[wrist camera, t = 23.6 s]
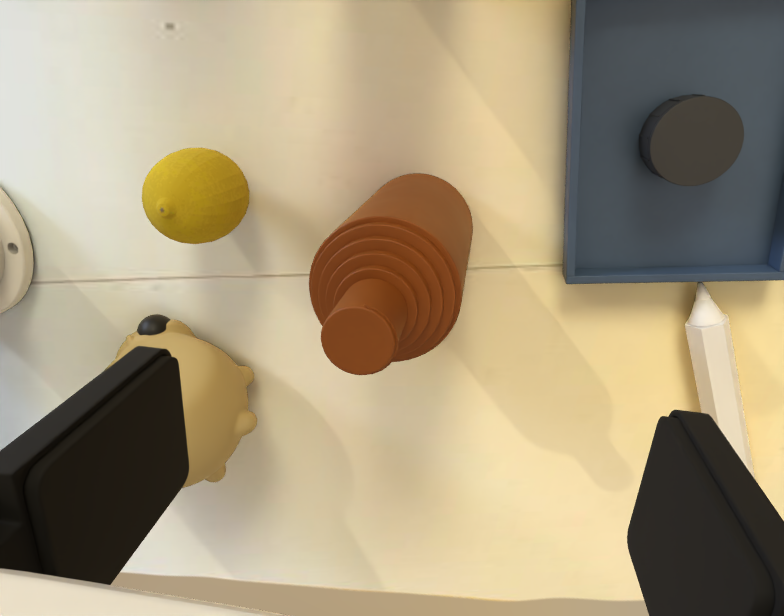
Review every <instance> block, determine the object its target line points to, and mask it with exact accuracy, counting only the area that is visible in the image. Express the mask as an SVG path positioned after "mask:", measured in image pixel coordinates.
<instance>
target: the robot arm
mask: <svg viewBox="0 0 784 616" xmlns="http://www.w3.org/2000/svg"><path fill="white" fill-rule="evenodd" d="M33 267H34V262H33V249H32V245H31V241H30V237H29V233H28V231H27V229H26V226H25V224H24V221H23V219H22V217H21V215H20V214H19V212H18V210H17V209H16V207H15V205H14V203H13V202H12V201H11V200H10V198H9V197H8V196H7V194H6V193H5V192H4V191H3V189H2V188H1V187H0V313H2V312H4V311H6V310H8V309H10V308H12V307H13V306H15V305H16V304H17V303H18V302H19V301H21V299H22V298H23V296H24V295H25V293H26V292H27V291H28V288H29V285H30V283H31V280H32V274H33ZM188 474H189V457H188V448H187V438H186V428H185V419H184V409H183V399H182V390H181V380H180V370H179V363H178V360H177V358H175V357H172V356H171V353H170V352H169V351H168V350H167V349H162V348H154V347H146V346H137V347H135V348H134V349H132V350H131V351H130V352H128V353H127V354H126V355H124V356H123V357H122V358H121V359H119V360H118V361H117V362H115V363H114V364H113V365H111V366H110V367H109V368H108V369H106V370H105V371H104V372H102V373H101V374H100V375H98V376H97V377H96V378H95V379H93V380H92V381H91V382H89V383H88V384H87V385H85V386H84V387H83V388H82V389H80V390H79V391H78V392H76V393H75V394H74V395H72V396H71V397H70V398H68V399H67V400H66V401H65V402H63V403H62V404H61V405H59V406H58V407H57V408H55V409H54V410H53V411H52V412H50V413H49V414H48V415H46V416H45V417H44V418H42V419H41V420H40V421H39V422H37V423H36V424H35V425H33V426H32V427H31V428H29V429H28V430H27V431H25V432H24V433H23V434H22V435H20V436H19V437H18V438H16V439H15V440H14V441H12V442H11V443H10V444H9V445H7V446H6V447H5V448H3V449H2V450H1V451H0V616H292V615H286V614H280V613H274V612H268V611H263V610H257V609H251V608H244V607H239V606H233V605H227V604H221V603H215V602H209V601H203V600H196V599H191V598H185V597H179V596H173V595H167V594H161V593H155V592H149V591H143V590H137V589H130V588H124V587H119V586H113V585H111V583H112V582H113V580H114V579H115V578H116V576H117V575H118V574H119V572H120V571H121V570H122V568H123V567H124V566H125V564H126V563H127V561H128V560H129V559H130V557H131V556H132V555H133V553H134V552H135V551H136V549H137V548H138V547H139V545H140V544H141V542H142V541H143V540H144V538H145V537H146V536H147V534H148V533H149V532H150V530H151V529H152V528H153V526H154V525H155V523H156V522H157V521H158V519H159V518H160V517H161V515H162V514H163V513H164V511H165V510H166V509H167V507H168V506H169V504H170V503H171V502H172V500H173V499H174V498H175V496H176V495H177V494H178V492H179V491H180V490H181V488H182V487H183V485H184V484H185V482H186V480H187V477H188ZM627 543H628V549H629V553H630V556H631V559H632V562H633V566H634V569H635V572H636V575H637V578H638V581H639V584H640V588H641V591H642V594H643V597H644V600H645V603H646V606H647V610H648V613H649V616H784V521H783V520H782V518H781V517H780V515H779V514H778V512H777V511H776V509H775V508H774V507H773V505H772V504H771V502H770V501H769V499H768V498H767V496H766V495H765V493H764V492H763V491H762V489H761V488H760V486H759V485H758V483H757V482H756V480H755V479H754V478H753V476H752V475H751V473H750V472H749V470H748V469H747V467H746V466H745V465H744V463H743V462H742V460H741V459H740V457H739V456H738V454H737V453H736V452H735V450H734V449H733V447H732V446H731V444H730V443H729V441H728V440H727V439H726V437H725V436H724V434H723V433H722V431H721V430H720V428H719V427H718V425H717V424H716V423H715V421H714V420H713V418H712V417H711V416H710V415H709V414H706V413H698V412H690V411H681V410H673V411H672V412H671V413H670V415H669V417H666V416H662V417H660V419H659V421H658V423H657V427H656V430H655V434H654V438H653V441H652V445H651V448H650V452H649V456H648V459H647V463H646V467H645V470H644V474H643V477H642V481H641V485H640V488H639V492H638V495H637V499H636V503H635V506H634V510H633V514H632V517H631V521H630V524H629V528H628V535H627Z"/></svg>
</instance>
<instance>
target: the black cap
mask: <svg viewBox="0 0 784 616" xmlns="http://www.w3.org/2000/svg"><path fill="white" fill-rule="evenodd" d="M639 136H640V137H639V151H640V155H641V156H640V157H641V158H642V160H643V162H644V163H645V165H646V166H647V167H648V168H649V169H650V170H651V171H652V173H653V174H655V175H656V176H658V177H660V178H664V179H665V180H667V181H669V182H671V183H673V184H677V185H681V186H697V185H702V184H705V183H708V182H710V181H712V180H715V179H716V178H718V177H719V176H721V175H722V174H723V173H725V172H726V171H727V170H728V169H729V168H730V167H731V166H732V165H733V163H734V162H735V160H736V159H737V157H738V155H739V153H740V151H741V148H742V145H743V141H744V127H743V122H742V120H741V117H740V115H739V114H738V112H737V111H736V110H735V108H734V107H733V106H731V105H730V104H729V103H727V102H726V101H724V100H721V99H719V98H715V97H709V96H705V95H700V94H692V95H684V96H679V97H675V98H672V99H671V98H670V99H669V100H668V101H666V102H664V103H662V104H661V105H660V106H658V107H657V108H656V109H655V110H654V111H653V112H652V113H650V114H649V117H648V118H647V119H646V121H645V123H644V125H643V127H642V129H641V133H640V134H639Z"/></svg>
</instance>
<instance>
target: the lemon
mask: <svg viewBox="0 0 784 616" xmlns="http://www.w3.org/2000/svg"><path fill="white" fill-rule="evenodd" d="M142 202H143V208H144V210H145V213H146V215H147V217H148V219H149V220H150V222H151V223H152V225H153V226H154V227H155V228H156V229H157V230H158V231H159V232H160V233H162V234H163V235H165V236H167V237H168V238H170V239H172V240H175V241H178V242H181V243H190V244H199V243H206V242H212V241H215V240H217V239H219V238H221V237H223V236H225V235H227V234H229V233H230V232H231V231H232V230H233V229H234V228H235V227H237V226H238V225H239V223H240V222H241V220H242V219H243V217H244V215H245V214H246V211H247V207H248V204H249V189H248V184H247V181H246V179H245V176H244V174H243V172H242V171H241V170H240V168H239V167H238V166H237V164H236V163H234V162H233V161H232V160H231V159H230V158H228V157H227V156H225V155H223V154H221V153H219V152H217V151H214V150H210V149H206V148H187V149H183V150H180V151H177V152H174V153H171V154H169V155H167V156H166V157H165V158H163V159H162V160H161V161H159V162H158V163H157V164H156V165H155V166H154V167H153V168H152V169H151V171H150V172H149V174H148V175H147V177H146V179H145V182H144V185H143V190H142Z"/></svg>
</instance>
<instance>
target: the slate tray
mask: <svg viewBox="0 0 784 616" xmlns="http://www.w3.org/2000/svg"><path fill="white" fill-rule="evenodd" d="M692 94H700V95H705V96H709V97H715V98H719V99H721V100H724V101H726V102H727V103H729V104H730V105H731V106H733V107H734V108H735V110H736V111H737V112H738V114H739V115H740V117H741V120H742V122H743V127H744V141H743V145H742V148H741V151H740V153H739V155H738V157H737V159H736V160H735V162H734V163H733V165H732V166H731V167H730V168H729V169H728V170H727V171H726V172H725V173H723V174H722V175H721V176H719V177H718V178H716V179H715V180H712V181H710V182H708V183H705V184H702V185H697V186H681V185H677V184H673V183H671V182H669V181H667V180H665V179H664V178H660V177H658V176H656V175H655V174H653V173H652V171H651V170H650V169H649V168H648V167H647V166H646V165H645V163H644V162H643V160H642V158H641V157H640V156H641V155H640V151H639V137H640V136H639V134H640V133H641V129H642V127H643V125H644V123H645V121H646V119H647V118H648V117H649V114H650V113H652V112H653V111H654V110H655V109H656V108H657V107H658V106H660V105H661V104H662V103H664V102H666V101H668V100H669V99H670V98H671V99H672V98H675V97H679V96H684V95H692ZM563 276H564V279H565V282H566V284H594V283H650V282H706V281H763V280H784V0H571V30H570V61H569V92H568V123H567V154H566V184H565V215H564V246H563Z"/></svg>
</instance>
